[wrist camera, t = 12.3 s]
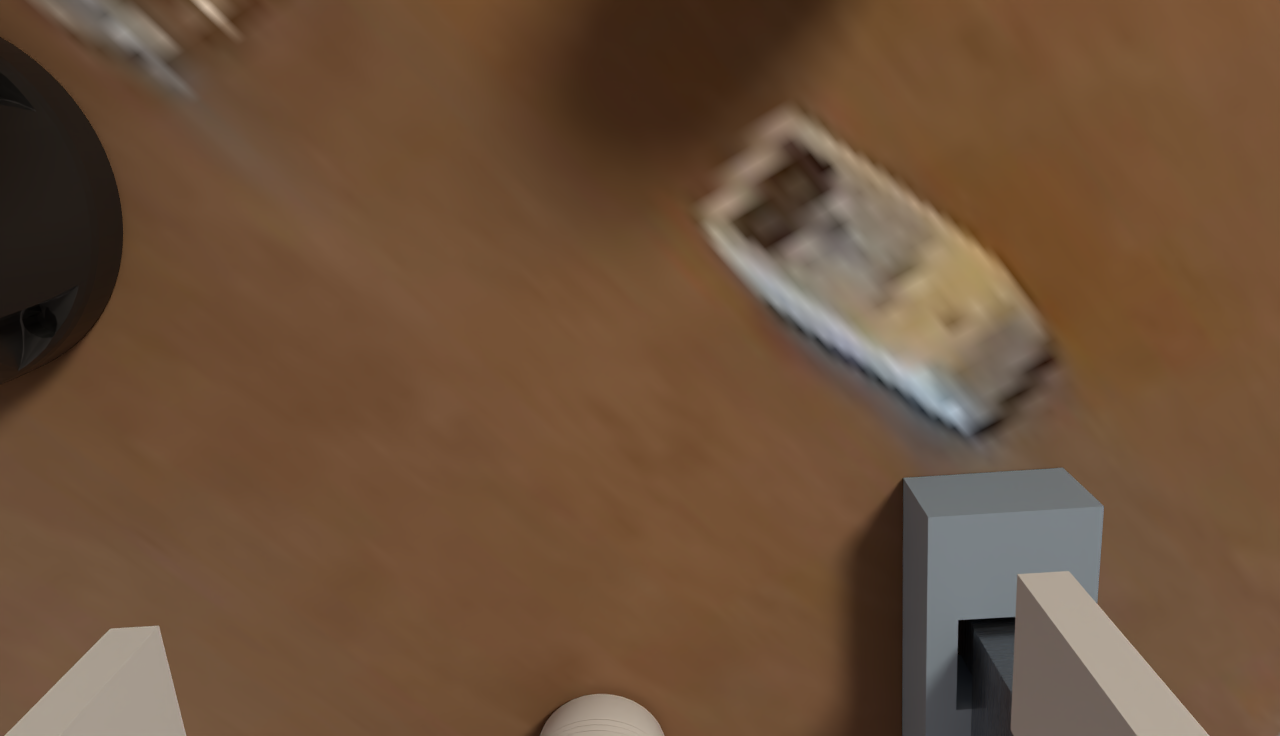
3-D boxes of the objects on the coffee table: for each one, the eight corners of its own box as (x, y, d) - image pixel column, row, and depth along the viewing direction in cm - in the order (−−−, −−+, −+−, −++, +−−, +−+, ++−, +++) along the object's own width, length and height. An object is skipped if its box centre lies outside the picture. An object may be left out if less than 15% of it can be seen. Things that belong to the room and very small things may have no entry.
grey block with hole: (901, 876, 49) (922, 944, 45) (903, 477, 42) (928, 517, 39) (1040, 869, 48) (1073, 937, 45) (1063, 467, 42) (1103, 506, 38)
